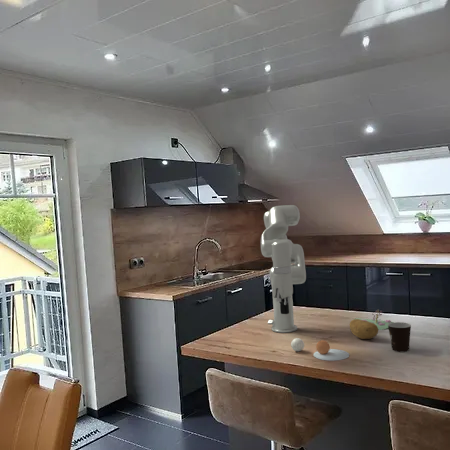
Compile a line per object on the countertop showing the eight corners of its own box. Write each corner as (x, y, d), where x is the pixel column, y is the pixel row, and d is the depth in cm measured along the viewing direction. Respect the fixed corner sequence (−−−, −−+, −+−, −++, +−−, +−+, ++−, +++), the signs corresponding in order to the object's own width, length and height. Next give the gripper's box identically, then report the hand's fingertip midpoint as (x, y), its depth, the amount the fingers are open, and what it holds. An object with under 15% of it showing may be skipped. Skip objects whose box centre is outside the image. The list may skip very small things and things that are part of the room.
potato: (369, 344, 202) (368, 325, 201) (344, 337, 214) (343, 319, 213) (385, 339, 207) (384, 321, 206) (360, 333, 219) (359, 316, 218)
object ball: (316, 339, 191) (328, 347, 188) (322, 336, 195) (333, 343, 193) (311, 350, 193) (323, 358, 190) (317, 347, 197) (328, 354, 194)
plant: (337, 324, 239) (336, 306, 239) (364, 317, 251) (363, 300, 250) (379, 333, 219) (378, 314, 218) (406, 325, 230) (405, 306, 230)
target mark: (307, 357, 189) (307, 357, 189) (322, 347, 200) (322, 347, 200) (341, 362, 181) (341, 362, 181) (354, 352, 192) (354, 351, 192)
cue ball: (297, 341, 194) (301, 353, 194) (304, 335, 198) (308, 348, 198) (286, 341, 198) (290, 353, 198) (294, 336, 202) (297, 348, 202)
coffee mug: (409, 353, 186) (408, 328, 186) (387, 351, 190) (385, 326, 190) (415, 345, 196) (414, 321, 195) (393, 343, 200) (392, 319, 200)
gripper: (283, 267, 209) (285, 309, 210) (265, 272, 197) (268, 316, 198) (298, 268, 205) (300, 310, 206) (281, 273, 193) (284, 318, 194)
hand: (284, 313), depth 202 cm, fingers closed
